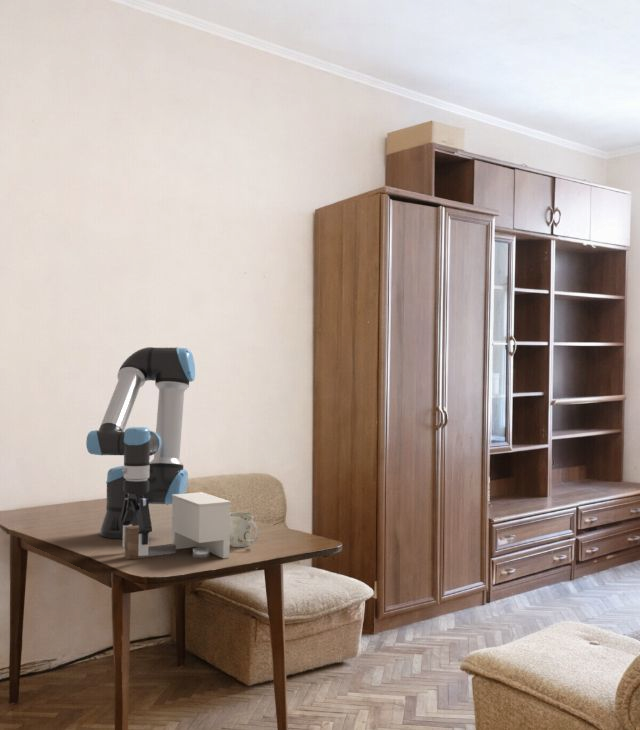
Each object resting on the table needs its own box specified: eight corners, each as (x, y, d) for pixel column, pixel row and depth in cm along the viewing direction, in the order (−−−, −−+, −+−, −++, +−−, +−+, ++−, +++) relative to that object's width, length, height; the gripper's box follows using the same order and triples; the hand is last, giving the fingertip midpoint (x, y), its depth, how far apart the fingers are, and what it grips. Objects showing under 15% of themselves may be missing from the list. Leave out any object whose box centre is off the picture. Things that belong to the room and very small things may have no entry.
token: (189, 555, 238) (190, 548, 238) (205, 554, 240) (205, 546, 240) (196, 559, 233) (197, 551, 233) (212, 557, 236) (212, 549, 236)
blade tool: (124, 556, 235) (125, 526, 235) (171, 550, 243) (172, 521, 243) (129, 559, 231) (129, 529, 231) (176, 553, 240) (177, 524, 240)
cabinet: (171, 548, 247) (171, 494, 247) (201, 544, 252) (202, 492, 253) (198, 561, 230) (199, 504, 230) (230, 557, 235) (231, 501, 236)
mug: (239, 541, 258) (240, 510, 258) (267, 547, 250) (268, 515, 250) (221, 545, 252) (221, 514, 252) (249, 551, 244) (250, 519, 244)
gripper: (110, 475, 243) (109, 544, 242) (139, 485, 222) (137, 560, 222) (133, 473, 247) (132, 541, 247) (164, 483, 226) (163, 557, 226)
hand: (135, 551), depth 234 cm, fingers open, 13 cm apart
